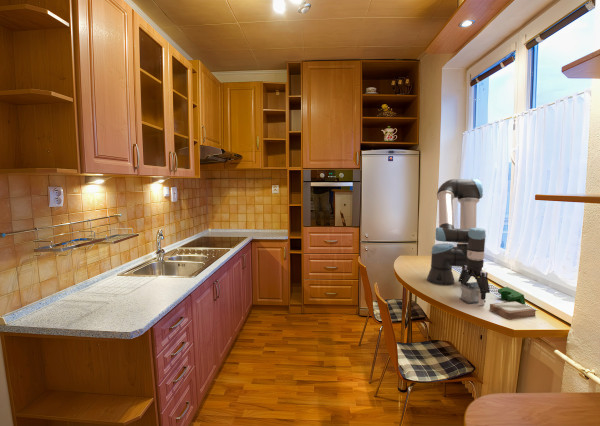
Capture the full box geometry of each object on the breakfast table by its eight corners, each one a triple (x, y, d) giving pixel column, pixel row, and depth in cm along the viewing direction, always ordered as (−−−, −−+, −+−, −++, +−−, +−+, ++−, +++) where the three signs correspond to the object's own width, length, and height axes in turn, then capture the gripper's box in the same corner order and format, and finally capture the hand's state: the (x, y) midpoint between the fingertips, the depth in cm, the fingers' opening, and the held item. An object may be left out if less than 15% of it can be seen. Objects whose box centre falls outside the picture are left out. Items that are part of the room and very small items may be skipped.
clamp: (501, 306, 157) (494, 289, 159) (512, 304, 157) (505, 286, 160) (516, 307, 145) (508, 288, 148) (528, 304, 145) (519, 285, 148)
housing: (459, 299, 155) (460, 283, 154) (476, 298, 157) (477, 282, 156) (468, 304, 149) (469, 287, 148) (485, 302, 152) (486, 285, 151)
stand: (489, 310, 142) (490, 303, 142) (514, 307, 146) (515, 300, 146) (508, 319, 133) (509, 312, 132) (535, 316, 136) (535, 309, 136)
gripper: (452, 253, 161) (450, 293, 163) (488, 265, 139) (484, 310, 141) (464, 253, 163) (461, 292, 165) (501, 264, 141) (497, 309, 143)
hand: (472, 300), depth 153 cm, fingers open, 10 cm apart
